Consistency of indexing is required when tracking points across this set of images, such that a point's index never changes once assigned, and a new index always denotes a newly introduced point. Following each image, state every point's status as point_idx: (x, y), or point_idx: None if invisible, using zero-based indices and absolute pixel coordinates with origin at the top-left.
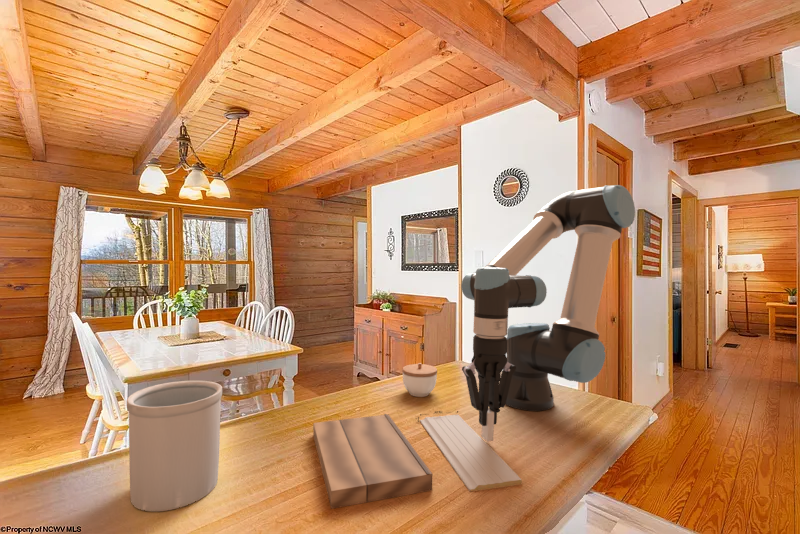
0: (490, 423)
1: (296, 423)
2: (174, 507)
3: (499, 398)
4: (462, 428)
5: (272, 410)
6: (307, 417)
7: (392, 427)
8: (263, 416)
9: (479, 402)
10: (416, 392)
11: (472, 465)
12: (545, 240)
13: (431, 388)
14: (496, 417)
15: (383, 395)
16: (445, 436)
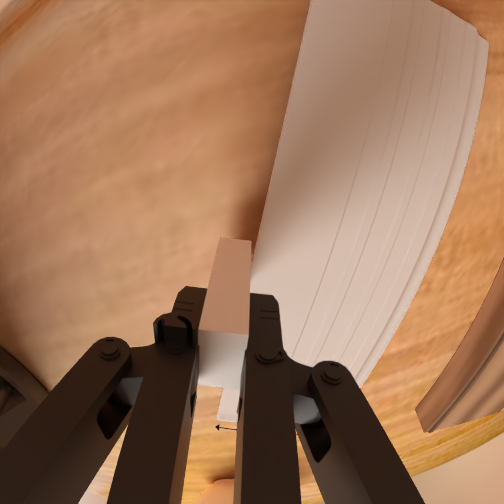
0: (233, 286)
1: (495, 418)
2: None
3: (105, 409)
4: None
5: (479, 445)
6: (472, 434)
7: (476, 380)
8: (498, 432)
9: (337, 409)
10: None
11: (432, 118)
12: None
13: (218, 492)
14: (174, 310)
15: (312, 487)
16: (361, 335)
